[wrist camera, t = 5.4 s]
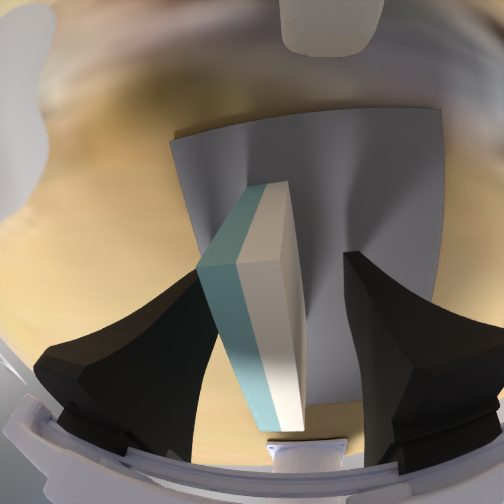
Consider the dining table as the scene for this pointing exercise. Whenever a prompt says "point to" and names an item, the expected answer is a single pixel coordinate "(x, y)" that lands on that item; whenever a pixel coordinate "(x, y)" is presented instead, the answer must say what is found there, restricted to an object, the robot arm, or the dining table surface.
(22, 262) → the dining table surface
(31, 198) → the dining table surface
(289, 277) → the plate
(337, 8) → the teacup
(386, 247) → the mat
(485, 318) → the dining table surface
